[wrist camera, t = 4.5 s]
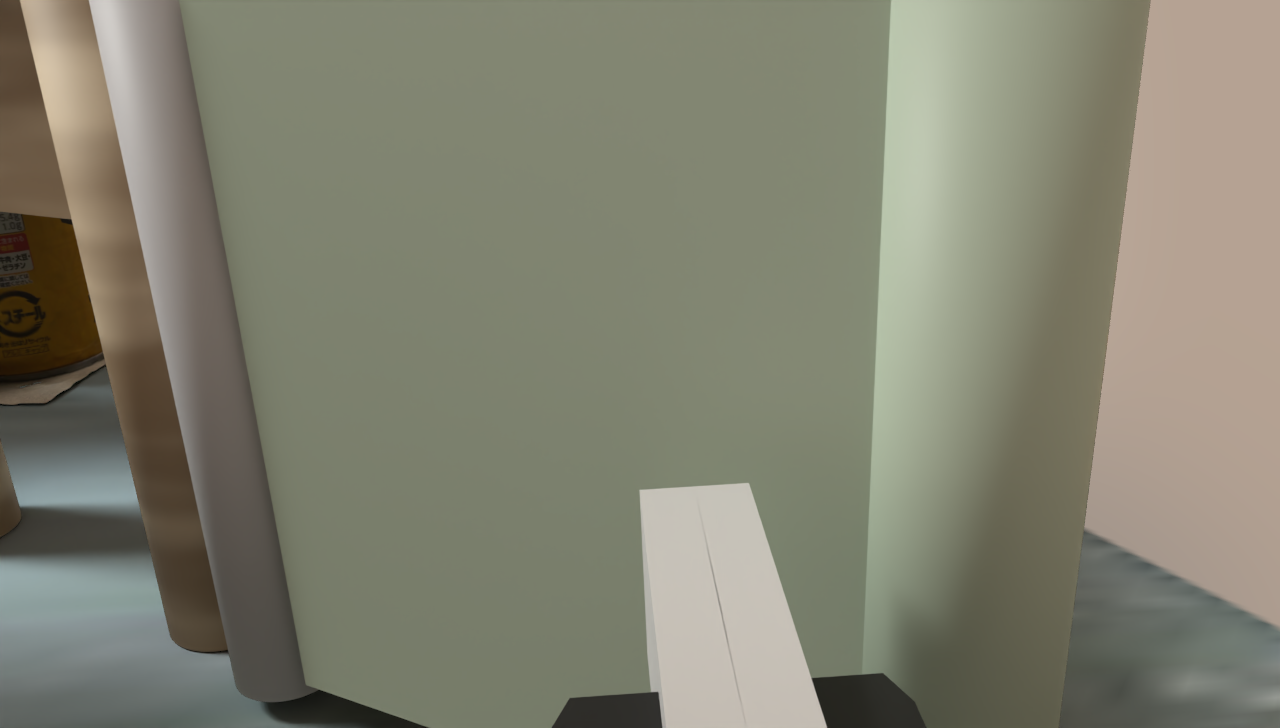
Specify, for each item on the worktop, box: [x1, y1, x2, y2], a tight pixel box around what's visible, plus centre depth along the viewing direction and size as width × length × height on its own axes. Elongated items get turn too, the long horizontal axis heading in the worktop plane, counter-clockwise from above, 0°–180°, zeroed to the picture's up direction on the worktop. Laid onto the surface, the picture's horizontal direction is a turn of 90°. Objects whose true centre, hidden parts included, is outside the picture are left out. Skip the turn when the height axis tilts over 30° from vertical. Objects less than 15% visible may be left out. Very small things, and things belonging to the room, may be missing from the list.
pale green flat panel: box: [89, 0, 1150, 728], centre depth 18 cm, size 17×3×15 cm, turn 63°
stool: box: [0, 0, 228, 652], centre depth 33 cm, size 20×14×18 cm
